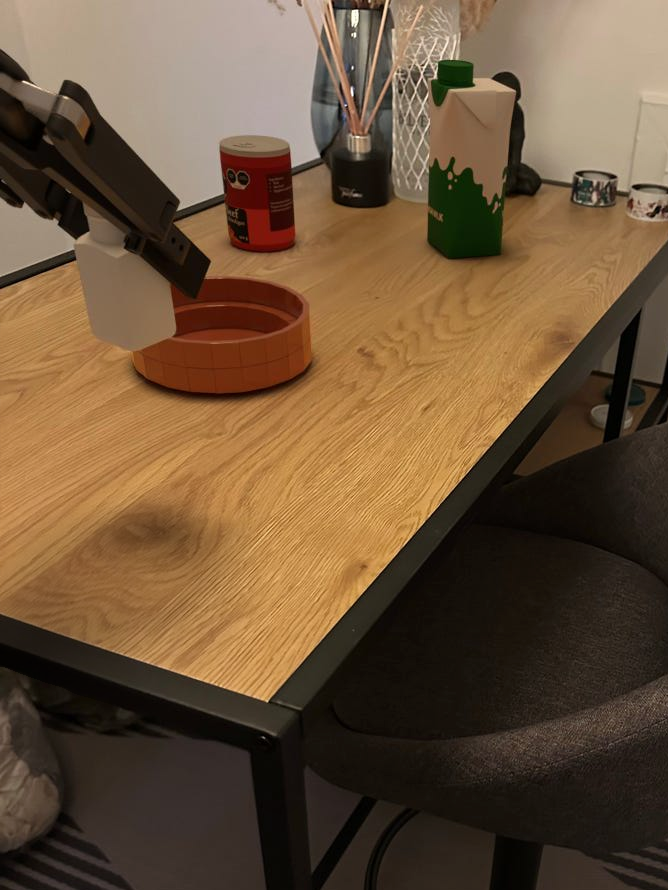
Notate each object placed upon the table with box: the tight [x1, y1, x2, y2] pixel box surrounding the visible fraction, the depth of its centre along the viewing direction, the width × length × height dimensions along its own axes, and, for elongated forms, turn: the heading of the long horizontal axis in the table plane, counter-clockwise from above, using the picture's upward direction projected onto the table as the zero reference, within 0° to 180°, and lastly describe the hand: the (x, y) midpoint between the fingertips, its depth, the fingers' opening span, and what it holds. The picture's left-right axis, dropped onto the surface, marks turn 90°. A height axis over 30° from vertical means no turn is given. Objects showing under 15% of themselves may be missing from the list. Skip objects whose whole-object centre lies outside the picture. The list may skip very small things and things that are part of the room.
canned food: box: [218, 134, 296, 253], centre depth 111 cm, size 8×8×11 cm
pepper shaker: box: [73, 202, 176, 352], centre depth 57 cm, size 4×4×10 cm
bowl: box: [130, 275, 313, 394], centre depth 86 cm, size 16×16×5 cm
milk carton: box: [426, 59, 517, 260], centre depth 111 cm, size 9×9×20 cm
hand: (167, 270), depth 60 cm, fingers closed on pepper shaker, 4 cm apart
